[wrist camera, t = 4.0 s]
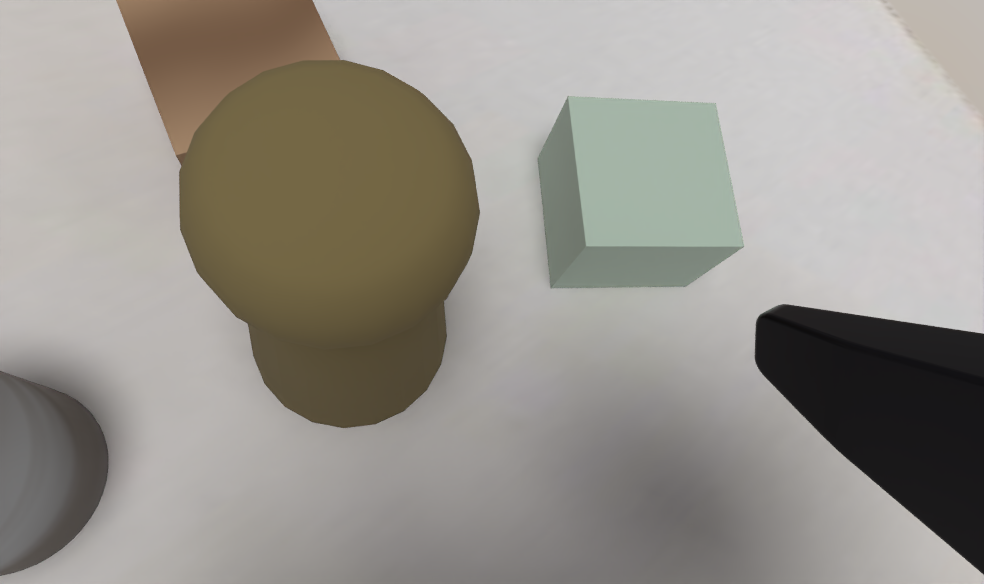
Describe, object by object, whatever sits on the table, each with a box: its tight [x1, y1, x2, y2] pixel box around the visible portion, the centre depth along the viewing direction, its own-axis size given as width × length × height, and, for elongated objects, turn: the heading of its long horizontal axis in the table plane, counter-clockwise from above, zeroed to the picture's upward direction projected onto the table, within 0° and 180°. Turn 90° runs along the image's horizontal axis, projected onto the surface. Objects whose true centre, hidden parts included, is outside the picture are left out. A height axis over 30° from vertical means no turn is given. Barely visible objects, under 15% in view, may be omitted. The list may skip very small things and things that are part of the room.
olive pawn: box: [179, 60, 480, 428], centre depth 15 cm, size 6×6×11 cm
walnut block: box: [116, 0, 340, 165], centre depth 20 cm, size 6×5×4 cm
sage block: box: [538, 96, 744, 288], centre depth 21 cm, size 5×5×4 cm
